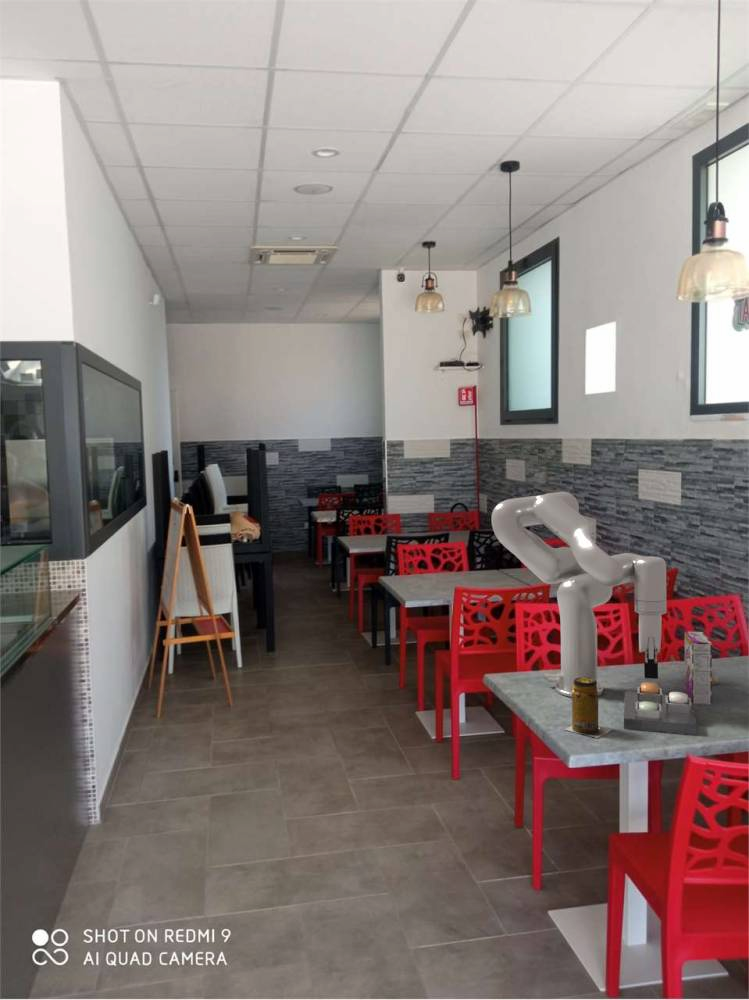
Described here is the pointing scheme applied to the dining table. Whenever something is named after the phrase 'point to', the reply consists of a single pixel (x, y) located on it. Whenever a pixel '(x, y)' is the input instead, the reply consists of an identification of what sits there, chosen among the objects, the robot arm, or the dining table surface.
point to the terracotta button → (649, 688)
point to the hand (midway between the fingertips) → (651, 677)
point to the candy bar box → (698, 668)
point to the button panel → (658, 714)
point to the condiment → (585, 708)
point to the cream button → (678, 698)
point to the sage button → (648, 706)
